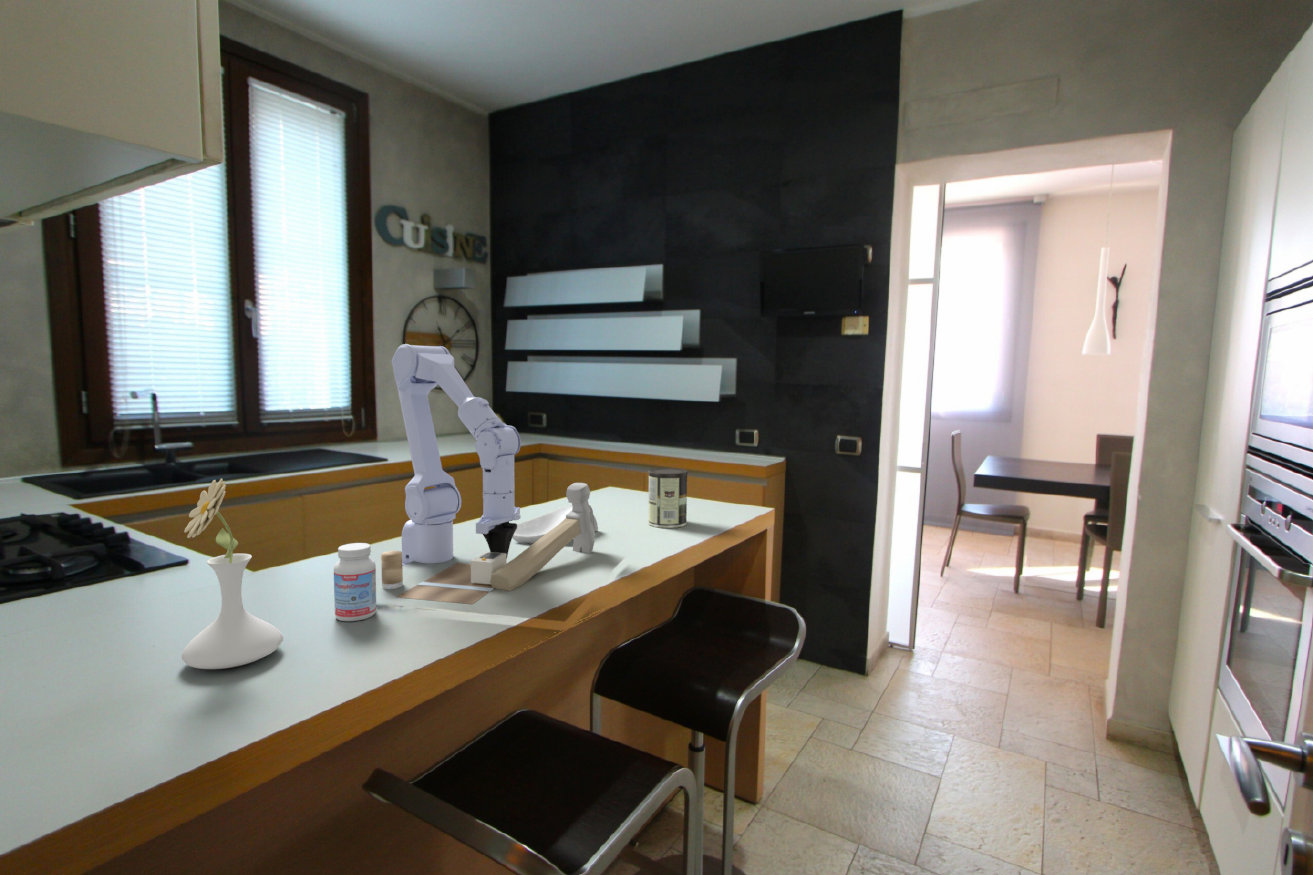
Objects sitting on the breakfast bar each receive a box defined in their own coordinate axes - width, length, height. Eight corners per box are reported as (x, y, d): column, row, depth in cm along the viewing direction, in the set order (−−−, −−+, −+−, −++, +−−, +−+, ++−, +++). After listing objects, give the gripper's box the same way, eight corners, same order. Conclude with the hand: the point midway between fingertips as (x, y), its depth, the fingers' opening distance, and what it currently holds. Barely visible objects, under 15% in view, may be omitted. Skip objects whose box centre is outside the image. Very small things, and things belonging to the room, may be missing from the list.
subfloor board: (395, 603, 107) (395, 596, 107) (456, 568, 126) (456, 562, 126) (472, 611, 104) (472, 603, 104) (522, 574, 123) (522, 567, 123)
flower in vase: (194, 648, 89) (184, 470, 86) (288, 635, 93) (281, 467, 91) (166, 691, 77) (154, 487, 74) (276, 674, 81) (267, 481, 79)
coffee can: (673, 517, 174) (674, 466, 173) (694, 525, 165) (695, 472, 164) (640, 521, 169) (641, 469, 168) (660, 530, 160) (660, 474, 159)
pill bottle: (331, 624, 98) (328, 552, 97) (339, 610, 104) (337, 542, 103) (373, 620, 100) (371, 550, 98) (379, 606, 105) (377, 540, 104)
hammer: (504, 548, 108) (592, 483, 134) (482, 544, 110) (573, 481, 136) (518, 627, 113) (600, 550, 138) (496, 623, 115) (582, 547, 140)
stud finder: (471, 582, 114) (470, 558, 113) (486, 572, 119) (486, 549, 119) (491, 584, 113) (491, 560, 112) (506, 574, 119) (506, 551, 118)
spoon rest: (530, 554, 138) (530, 521, 138) (498, 544, 146) (498, 513, 145) (607, 534, 156) (608, 505, 156) (575, 526, 164) (575, 499, 163)
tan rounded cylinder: (378, 594, 111) (376, 555, 111) (390, 588, 115) (389, 550, 114) (395, 596, 111) (394, 556, 110) (407, 589, 114) (406, 551, 113)
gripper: (501, 499, 111) (502, 575, 112) (534, 486, 125) (534, 553, 126) (464, 497, 112) (465, 572, 114) (500, 484, 126) (501, 551, 128)
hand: (499, 562), depth 120 cm, fingers closed
